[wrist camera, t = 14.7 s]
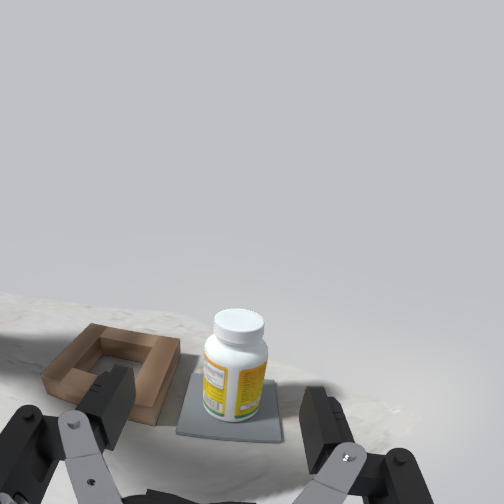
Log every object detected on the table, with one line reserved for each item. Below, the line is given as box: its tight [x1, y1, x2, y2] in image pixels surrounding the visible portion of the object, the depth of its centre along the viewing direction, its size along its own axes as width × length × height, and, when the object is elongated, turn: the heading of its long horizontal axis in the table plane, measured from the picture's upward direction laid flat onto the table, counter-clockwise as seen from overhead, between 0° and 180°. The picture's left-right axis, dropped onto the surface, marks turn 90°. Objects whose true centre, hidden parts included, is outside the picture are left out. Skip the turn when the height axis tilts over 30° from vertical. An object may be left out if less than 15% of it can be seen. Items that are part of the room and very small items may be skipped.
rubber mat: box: [176, 373, 281, 443], centre depth 25 cm, size 9×9×1 cm
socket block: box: [41, 323, 180, 426], centre depth 26 cm, size 12×12×2 cm
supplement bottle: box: [203, 309, 268, 422], centre depth 24 cm, size 5×5×10 cm
